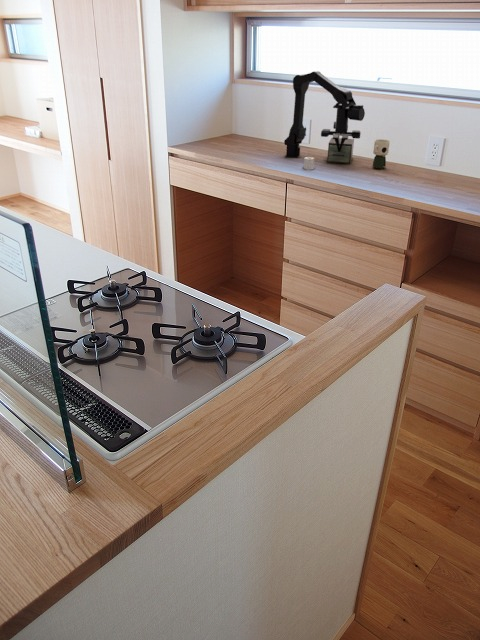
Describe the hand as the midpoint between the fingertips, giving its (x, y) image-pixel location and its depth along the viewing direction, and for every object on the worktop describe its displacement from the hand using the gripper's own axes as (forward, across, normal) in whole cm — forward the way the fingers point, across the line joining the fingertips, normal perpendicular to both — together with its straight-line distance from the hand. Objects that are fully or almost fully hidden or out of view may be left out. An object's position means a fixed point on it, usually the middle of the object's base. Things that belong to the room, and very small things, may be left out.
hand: (339, 151), depth 268 cm
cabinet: (+6, 0, -10) cm, 11 cm away
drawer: (+5, 0, -5) cm, 8 cm away
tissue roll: (+6, +13, +12) cm, 19 cm away
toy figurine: (+6, -20, +2) cm, 21 cm away
